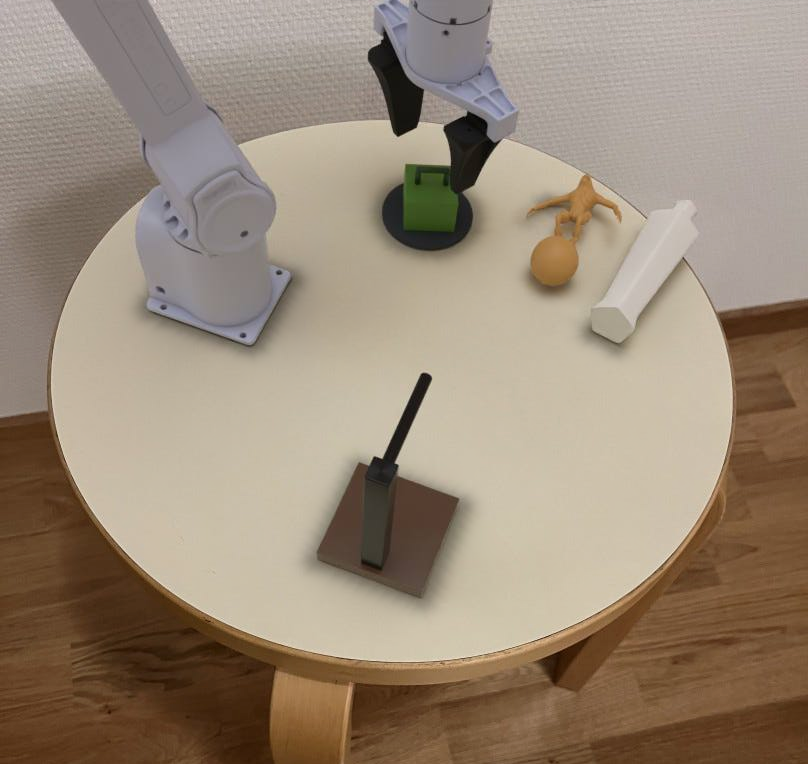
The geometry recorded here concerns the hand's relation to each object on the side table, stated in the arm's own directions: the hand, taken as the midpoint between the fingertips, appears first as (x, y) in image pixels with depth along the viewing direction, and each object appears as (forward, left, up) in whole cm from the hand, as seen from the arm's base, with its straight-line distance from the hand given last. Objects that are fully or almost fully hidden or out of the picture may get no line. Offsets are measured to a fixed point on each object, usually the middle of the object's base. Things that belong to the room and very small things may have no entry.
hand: (433, 158), depth 73 cm
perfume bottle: (+18, -7, -4) cm, 20 cm away
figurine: (+13, -4, -6) cm, 14 cm away
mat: (0, 0, -6) cm, 6 cm away
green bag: (0, 0, -6) cm, 6 cm away
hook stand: (+8, -30, -6) cm, 32 cm away
